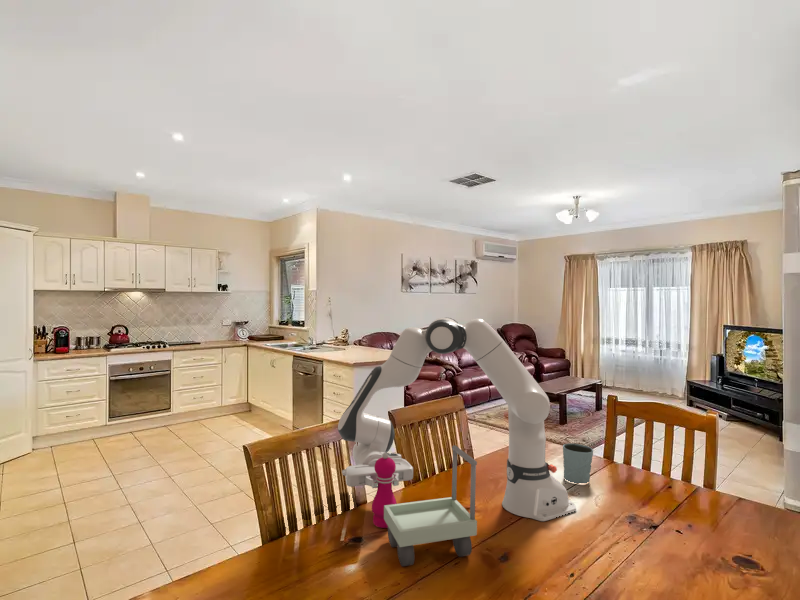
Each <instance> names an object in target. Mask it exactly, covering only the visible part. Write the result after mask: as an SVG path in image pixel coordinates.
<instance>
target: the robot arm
mask: <svg viewBox="0 0 800 600" xmlns="http://www.w3.org/2000/svg"><path fill="white" fill-rule="evenodd" d="M462 349H464V350H466V351H467V352H468V354H469V355H470V356H471V358H472V359H473V360H474V361H475V363H476V364H477V365H478V366H479V368H480V369H481V370H482V372H483V373H484V374H485V375H486V376H487V378H488V379H489V381H490V382H491V383H492V385H493V386H494V387H495V389H496V390H497V392H498V393H499V394H500V396H501V397H502V399H503V400H504V402H505V403H506V404H507V407H508V408H507V413H508V415H507V417H508V458H507V459H506V479H507V480H506V487H505V491H504V496H503V499H502V502H501V506H502V507H503V508H504V510H506V511H507V512H509V513H511V514H514V515H515V516H520V517H523V518H530V519H533V520H536V521H539V522H546V521H549V520H554V519H556V517H557V518H560V517H562V515H563V516H566V515H569V514H568V513H570V514H572V513H571V512H573V513H575V512H574V511H576V512H577V506H576V505H575V503H573V501H572V500H570V498H569V495H568V491H567V488H566V487H565V486H564V485H563V484H562V483H561V482H560V481H558V480H557V479H556V478H555V477H554V476H553V475H552V474H551V473H553V474H554V473H557V470H558V469H557V466H555V465H553V464H549V463H548V462H546V444H547V443H546V441H547V439H546V432H545V430H546V429H545V420H546V419H547V418H548V416H549V414H550V411H551V405H550V403H551V402H550V398H549V396H548V395H547V393H546V392H545V391H544V390H543V388H542V387H541V386H540V384H539V383H538V381H537V380H536V379H535V378H534V376H533V375H532V374H531V373H530V371H529V370H528V369H527V368H526V367H525V366H524V364H523V363H522V362H521V361H520V359H519V358H518V356H517V355H516V354H515V353H514V352H513V351H512V349H511V348H510V347H509V345H508V344H507V343H506V341H505V340H504V339H503V338H502V336H500V334H499V333H498V332H497V331H496V330H495V329H494V328H493V327H492V326H491V325H490V324H489V323H488V322H486V320H485V319H483V318H479V317H478V318H472V319H470V320H468V321H466V322H465V323H463V324H461V323H459V322H458V321H457V320H455V319H453V318H451V317H440V318H436V319H434V320H433V321H432V322H431V323H430V324H429V325H428V326H427V327H426V328H425V329H422V328H419V327H415V326H409V327H406V328H405V329H403V331H402V332H401V333H400V336H399V337H398V339H397V340H396V342H395V344H394V346H393V348H392V350H391V352H390V355H389V356H388V358H387V359H386V361H384V362H383V364H381V365H380V366H376V367H374V368H373V369H372V370H371V372H370V373H369V374H368V376H367V377H366V379H365V380H364V382H363V384H362V385H361V387H360V388H359V390H358V392H356V394H355V396H354V398H353V399H352V400H351V403H350V404H349V406H348V407H347V408H346V409H345V410H344V412H343V413H342V415H341V416H340V418H339V421H338V424H337V431H338V433H339V436H340V437H341V439H343V441H348V442H353V443H354V442H355V443H356V444H355V443H354V445H353V448H352V457H353V458H352V459H353V461H354V463H355V464H354V465H353V464H352V465H348V466H347V467H346V468H345V469H342V470H341V473H342V475H343V476H344V477H345V485H346V486H347V487H350V488H353V487H360V486H361V487H362V486H369V487H371V488H372V489H378V482H377V481H376V478H377V477H376V475H377V473H376V472H375V463H376V461H377V460H378V459H379V458H382V454H383V453H385V452H386V453H388V457H389V458H391V459H392V460H393V461H394V462H395V465H396V469H395V472H394V473H393V475H394V477H393V478H394V480H393V482H392V487H396V486H399V484H400V483H399V482H404V481H411V480H413V478H414V467H413V466H412V465H411V463H410V462H409V461H407V459H405V458H402V454H400V453H391V452H389V451H390V450H391V448H392V446H393V443H394V440H395V435H396V433H395V428H394V425H393V423H392V421H391V420H390V419H388V418H386V417H382V416H378V415H374V414H371V413H367V412H364V410H365V409H366V408H367V406H368V404H369V402H370V401H371V399H372V398H373V396H374V395H375V394H376V393H377V392H379V391H382V390H384V389H389V388H401V387H406V386H409V385H411V384H413V383H414V382H415V381H416V380H417V378H418V377H419V375H420V373H421V370H422V368H423V366H424V363H425V360H426V358H427V356H428V354H430V353H431V352H434V353H436V354H439V355H446V354H450V353H453V352H456V351H459V350H462ZM357 442H358V446H357ZM550 472H551V473H550ZM565 514H566V515H565ZM559 516H560V517H559Z"/></svg>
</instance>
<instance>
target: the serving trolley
mask: <svg viewBox="0 0 800 600" xmlns="http://www.w3.org/2000/svg"><path fill="white" fill-rule="evenodd" d="M451 449H452V472H451V473H452V479H451V496H450V497H443V498H442V497H440V498H433V499H425V500H417V501H410V502H402V503H401V502H400V503H397V504H392V505H384V520H385V522H386V524H387V525H388V528H387V535H388V536H387V537H388V542H389V545H390V547H391V548H396V551H397V557H398V561H399V564H400V566H401V567H407V566H408V567H409V566H413V565H414V563H415V546H416V545H417V546H418V545H422V544H429V543H437V542H442V541H447V540H452V544H453V548H454V551H455V554H456V555H457V556H458V557H459V558H460V557H466V556H470V555H471V554H472V548H473V543H472V540H471V537H474V536H477V534H478V521H477V519H476V518H475V517H476V489H477V488H476V483H477V482H476V479H477V471H476V470H477V465H478V462H477V460H475V459H474V458H473V457H472V456H471V455H469V454H468V453H466V452H465V451H464V450H462V449H461V448H460V447H458V446H457V445H455V444H454V445H452V446H451ZM458 455H459V456H460V457H461V458H463V460H465V461H466V462H467V463H469V464H470V495H469V496H470V500H469V501H470V502H469V503H470V505H469V506H470V507H469V511H468V510H467V509H466V508H465V507H464V506H463V505H462V504H461V503H460V502H459V501H458V500H457V486H458V485H457V482H458V481H457V479H458V478H457V476H458V475H457V474H458Z"/></svg>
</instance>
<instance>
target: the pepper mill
mask: <svg viewBox="0 0 800 600" xmlns="http://www.w3.org/2000/svg"><path fill="white" fill-rule="evenodd" d="M388 453H389V452H387V453H386V452H385V453H383V454H382V458H379V459H378V460H377V461H376V463H375V472H376V473H377V475H376V477H377V478H376V481H377V482H378V485H377V486H378V488H376V489H377V490H376V494H375V495H374V498H373V499H372V503H371V512H372V513H373V516H372V523H373V525H374V526H376V527H378V528H381V529H388V525H387V524H386V522H385V520H384V505H392V504H398V503H397V500H396V498H395V497H396V496H395V495H394V491H393V485H392V482H393V480H394V478H393V477H394V475H393V473H394V472H395V469H396V465H395V462H394V461H393V460H392V459H391V458H389V457H388Z"/></svg>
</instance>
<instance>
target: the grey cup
mask: <svg viewBox="0 0 800 600" xmlns="http://www.w3.org/2000/svg"><path fill="white" fill-rule="evenodd" d="M562 453H563V454H562V457H563V479H564V478H565V479H566V480H568V481H570V482H574V483H587V482H589V483H590V479H591V471H592V470H591V469H592V462H593V455H594V449H593V448H592V447H590V446H587V445H584V444H581V443H580V444H579V443H564V444H563V445H562Z"/></svg>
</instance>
